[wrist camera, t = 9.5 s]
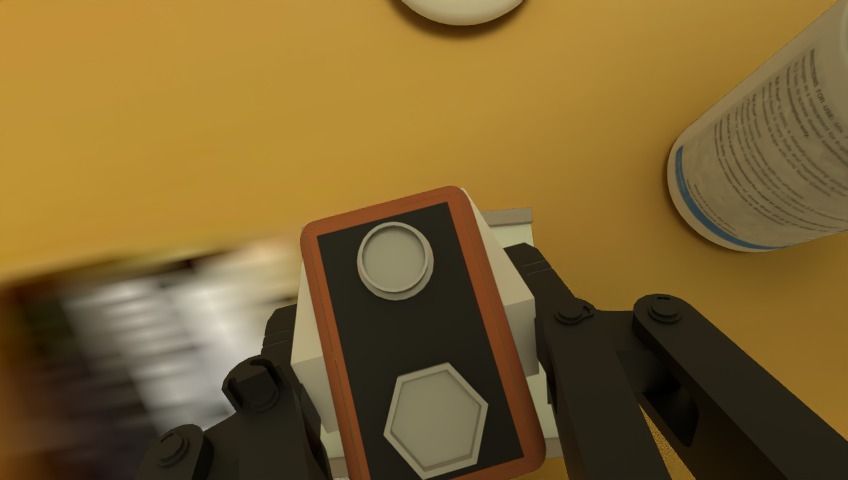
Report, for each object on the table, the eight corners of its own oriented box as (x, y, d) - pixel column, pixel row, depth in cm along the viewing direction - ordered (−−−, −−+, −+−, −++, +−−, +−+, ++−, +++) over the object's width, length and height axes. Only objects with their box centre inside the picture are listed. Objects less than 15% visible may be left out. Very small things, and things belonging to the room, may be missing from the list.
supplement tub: (781, 280, 27) (1193, 214, 12) (638, 214, 28) (863, 82, 13) (824, 152, 29) (1223, -35, 14) (688, 95, 30) (932, -133, 15)
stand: (517, 223, 28) (530, 207, 24) (548, 439, 25) (568, 456, 21) (317, 241, 28) (301, 227, 24) (324, 460, 25) (307, 480, 21)
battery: (391, 434, 18) (347, 554, 8) (354, 276, 19) (277, 210, 9) (493, 405, 18) (573, 485, 8) (448, 251, 19) (469, 160, 10)
